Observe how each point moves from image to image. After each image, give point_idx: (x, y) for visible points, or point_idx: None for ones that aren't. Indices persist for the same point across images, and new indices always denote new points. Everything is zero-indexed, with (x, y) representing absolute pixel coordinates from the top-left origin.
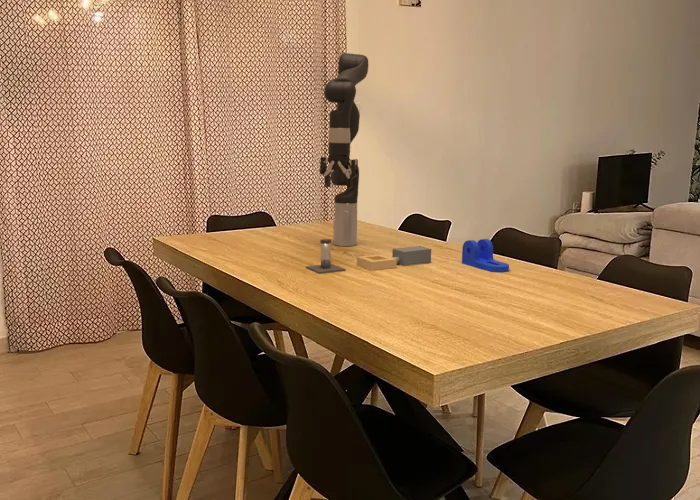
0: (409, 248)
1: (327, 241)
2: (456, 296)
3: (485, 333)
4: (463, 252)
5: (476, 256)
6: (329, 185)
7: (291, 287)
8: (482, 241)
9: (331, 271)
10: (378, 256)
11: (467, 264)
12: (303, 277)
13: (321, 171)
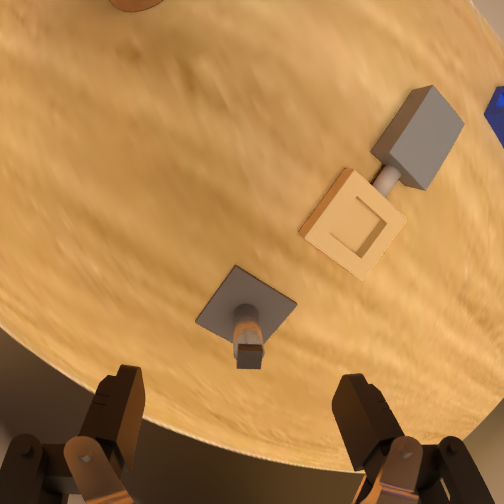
0: (425, 133)
1: (260, 365)
2: (474, 351)
3: (465, 421)
4: (502, 117)
5: None
6: (139, 385)
7: (258, 431)
8: None
9: (272, 332)
10: (355, 197)
11: (493, 129)
12: (240, 385)
13: (56, 492)
